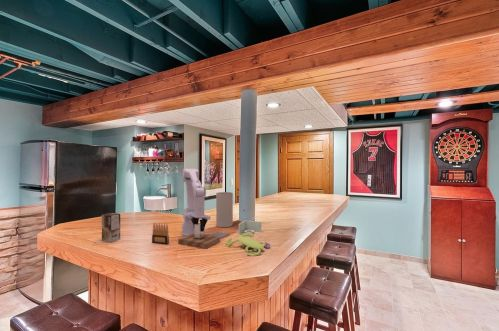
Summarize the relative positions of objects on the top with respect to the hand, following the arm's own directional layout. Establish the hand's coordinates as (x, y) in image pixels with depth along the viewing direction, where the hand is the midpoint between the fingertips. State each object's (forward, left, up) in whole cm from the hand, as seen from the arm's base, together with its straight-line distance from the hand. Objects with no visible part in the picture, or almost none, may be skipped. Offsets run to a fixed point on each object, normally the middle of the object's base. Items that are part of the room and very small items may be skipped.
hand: (199, 230), depth 144 cm
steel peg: (0, 0, -4) cm, 4 cm away
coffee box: (-52, -20, -8) cm, 56 cm away
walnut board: (0, 0, -7) cm, 7 cm away
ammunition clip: (-20, -11, -8) cm, 24 cm away
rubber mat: (+2, +18, -7) cm, 20 cm away
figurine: (+29, +7, -8) cm, 31 cm away
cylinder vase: (-9, +42, -8) cm, 44 cm away
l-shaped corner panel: (+18, +33, -8) cm, 38 cm away
